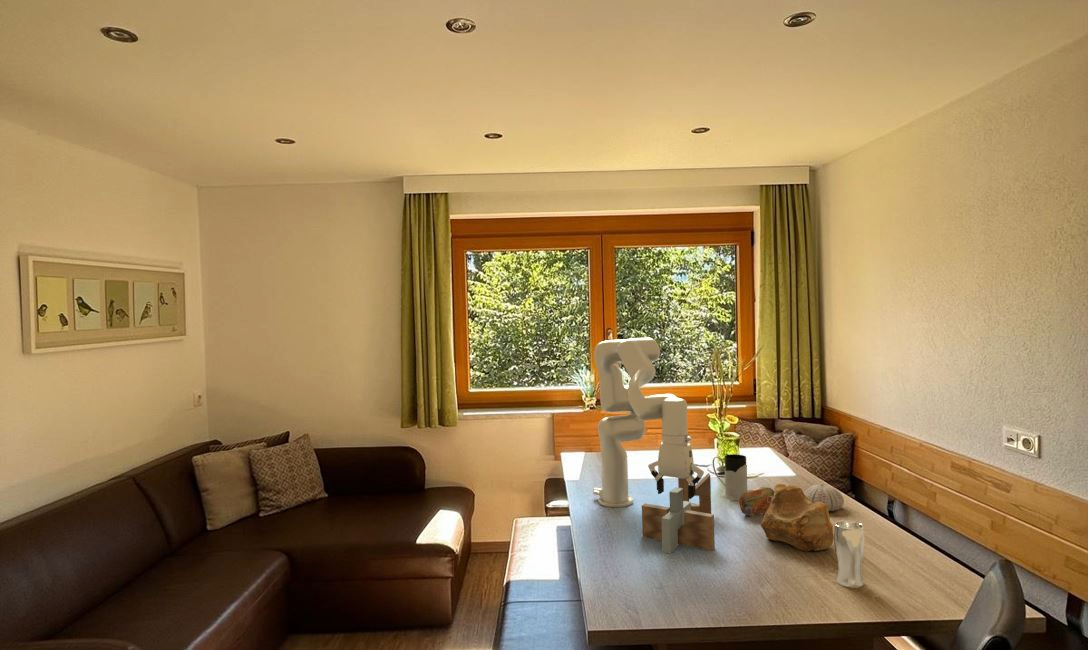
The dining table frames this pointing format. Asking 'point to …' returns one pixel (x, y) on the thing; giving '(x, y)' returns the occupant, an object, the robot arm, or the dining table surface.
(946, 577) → the dining table surface
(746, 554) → the dining table surface
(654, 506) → the walnut slotted board
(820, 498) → the sea urchin shell
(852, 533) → the beer glass
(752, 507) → the tin
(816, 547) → the rough brown rock
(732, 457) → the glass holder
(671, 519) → the grey slotted plate
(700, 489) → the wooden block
